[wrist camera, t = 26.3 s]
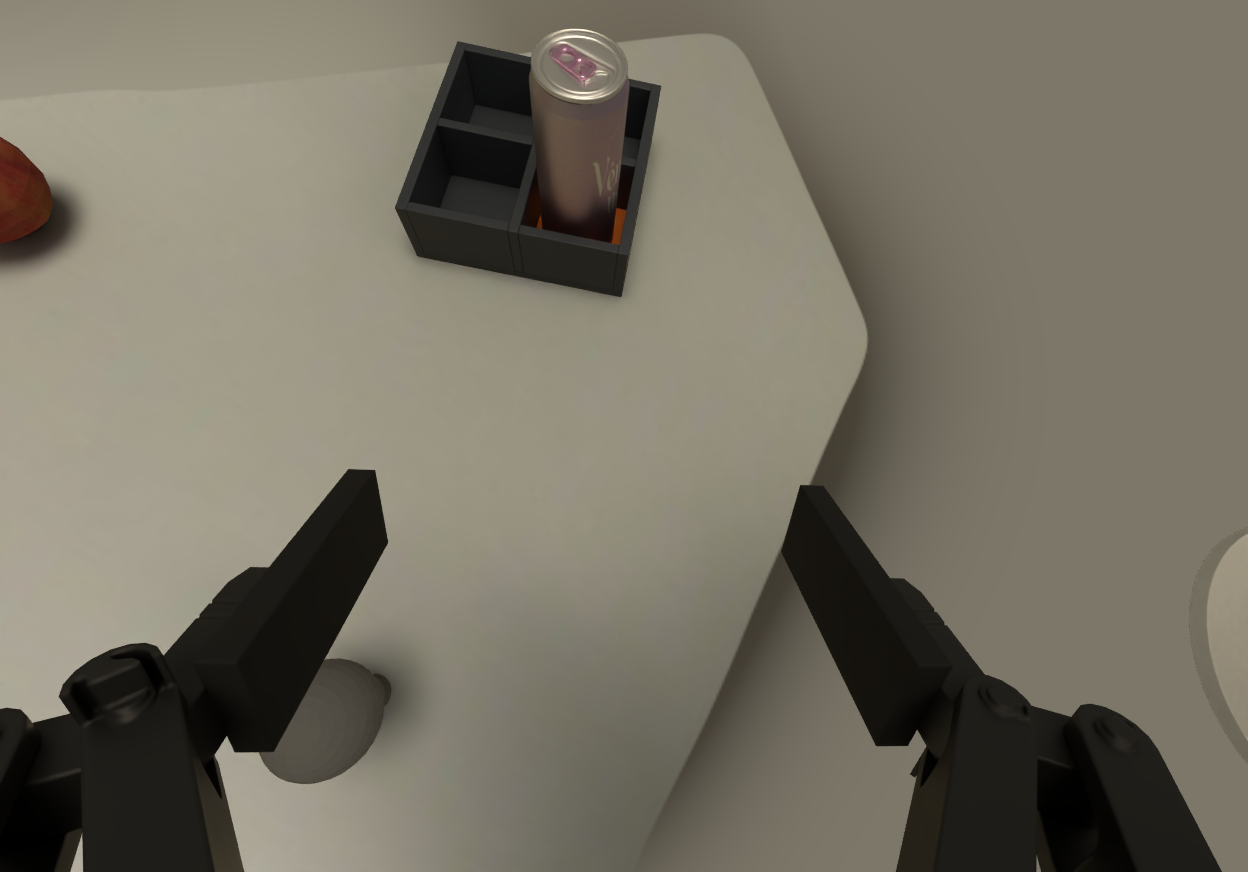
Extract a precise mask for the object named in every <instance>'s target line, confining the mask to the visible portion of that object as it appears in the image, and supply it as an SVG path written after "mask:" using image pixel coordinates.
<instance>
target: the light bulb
mask: <svg viewBox="0 0 1248 872" xmlns="http://www.w3.org/2000/svg"><path fill="white" fill-rule="evenodd" d="M390 695H391V686H390V683H389V681H388V680H387V679H386V678H385V677H384V676H382V675H380V674H372V673H371V671H370V670H368V669H367V668H365V667H364V666H363V665H361V664H358V663H356V662H353V661H350V660H345V659H327V660H324V661H323V663H322V665H321V667H320V669H319V670H318V672H317V674H316V676H315V678H314V680H313V681H312V683H311V685H310V687H309V689H308V691H307V692H306V694H305V696H304V698H303V700H302V702H301V703H300V705H299V707H298V709H297V711H296V713H295V714H294V716H293V718H292V720H291V722H290V724H289V725H288V727H287V729H286V731H285V733H284V735H283V736H282V738H281V740H280V742H279V744H278V746H277V747H276V749H275V751H274V752H259V754H260V756H261V758H262V760H263V762H264V764H265V765H266V767H267V768H268V769H269V770H270V772H272V773H273V774H274V775H276V776H277V777H278V778H280V779H283V780H285V781H288V782H293V783H299V784H312V783H318V782H321V781H325V780H329V779H332V778H334V777H336V776H338V775H340V774H342V773H343V772H345V771H346V770H348V769H349V768H350V767H352V766H353V765H354V764H355V763H357V762H358V761H359V760H360V759H361V758H362V757H363V756H364V755H365V754H366V752H367V751H368V749H369V748H370V746H371V745H372V744H373V742H374V740H375V738H376V735H377V733H378V731H379V729H380V726H381V723H382V720H383V714H384V706H385V705H386V704H387V702H388V701H389V698H390Z"/></svg>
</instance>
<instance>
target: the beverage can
mask: <svg viewBox="0 0 1248 872" xmlns="http://www.w3.org/2000/svg"><path fill="white" fill-rule="evenodd" d="M529 86H530V97H531V108H532V120H533V131H534V142H535V153H536V165H537V176H538V187H539V198H540V209H541V221H542V229H544V230H549V231H554V232H559V233H563V234H568V235H573V236H578V237H583V238H588V239H593V240H598V241H602V242H607V243H612V240H613V234H614V225H615V216H616V206H617V197H618V188H619V179H620V170H621V160H622V151H623V142H624V133H625V123H626V114H627V105H628V96H629V79H628V64H627V60H626V57H625V55H624V53H623V51H622V50H621V48H620V47H619V46H618V45H617V44H616V43H615V42H614V41H612V40H611V39H609V38H608V37H606V36H604V35H602V34H600V33H598V32H595V31H591V30H587V29H579V28H570V29H563V30H558V31H555V32H553V33H550V34H548V35H547V36H545V37H544V38H542V39H541V40H540V41H539V42H538V43H537V45H536V46H535V48H534V50H533V52H532V56H531V70H530V74H529Z"/></svg>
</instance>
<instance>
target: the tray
mask: <svg viewBox="0 0 1248 872" xmlns="http://www.w3.org/2000/svg"><path fill="white" fill-rule="evenodd" d="M530 70H531V57H527V56H523V55H518V54H513V53H509V52H504V51H500V50H495V49H491V48H486V47H481V46H477V45H472V44H467V43H464V42H459V41H458V42H457V44H456V47H455V49H454V52H453V55H452V57H451V60H450V63H449V65H448V68H447V71H446V73H445V76H444V79H443V81H442V84H441V87H440V89H439V92H438V95H437V97H436V100H435V103H434V105H433V108H432V111H431V113H430V116H429V119H428V121H427V124H426V127H425V129H424V132H423V134H422V137H421V140H420V142H419V145H418V148H417V150H416V153H415V156H414V158H413V161H412V164H411V166H410V169H409V172H408V174H407V177H406V180H405V182H404V185H403V188H402V190H401V193H400V196H399V198H398V201H397V204H396V206H395V209H396V211H397V213H398V215H399V218H400V220H401V222H402V224H403V226H404V228H405V230H406V233H407V235H408V237H409V239H410V241H411V243H412V246H413V248H414V250H415V252H416V254H417V256H421V257H426V258H431V259H435V260H440V261H445V262H450V263H455V264H460V265H465V266H470V267H475V268H480V269H485V270H490V271H495V272H500V273H505V274H510V275H515V276H520V277H525V278H530V279H535V280H540V281H545V282H550V283H555V284H560V285H565V286H570V287H575V288H580V289H585V290H590V291H595V292H600V293H605V294H610V295H615V296H620V297H621V296H622V292H623V286H624V281H625V276H626V271H627V266H628V261H629V255H630V250H631V245H632V240H633V235H634V230H635V224H636V219H637V214H638V209H639V204H640V199H641V193H642V188H643V183H644V178H645V173H646V168H647V162H648V157H649V152H650V147H651V142H652V136H653V130H654V125H655V119H656V113H657V107H658V102H659V96H660V90H661V86H660V85H655V84H650V83H646V82H641V81H636V80H632V79H629V96H628V105H627V114H626V123H625V133H624V142H623V151H622V160H621V170H620V179H619V188H618V197H617V206H616V216H615V225H614V234H613V240H612V243H607V242H602V241H598V240H593V239H588V238H583V237H578V236H573V235H568V234H563V233H559V232H554V231H549V230H544V229H542V221H541V209H540V198H539V187H538V176H537V165H536V153H535V142H534V131H533V120H532V108H531V97H530V86H529V74H530Z"/></svg>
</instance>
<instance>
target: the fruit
mask: <svg viewBox="0 0 1248 872" xmlns="http://www.w3.org/2000/svg"><path fill="white" fill-rule="evenodd" d="M52 202H53V199H52V195H51V192H50V188H49V186H48V184H47V181H46V179H45V177H44V175H43V173H42V172H41V171H40V170H39V169H38V168H37V167H36V166H35V165H34V164H33V163H32V162H31V161H30V160H29V159H28V158H27V157H26V155H25V154H24V153H23V152H22V151H21V150H20V149H19V148H17V147H16V146H14V145H13V144H11V143H9V142H8V141H6V140H5V139H3V138H1V137H0V243H4V242H9V241H14V240H17V239H19V238H22V237H24V236H26V235H28V234H30V233H32V232H33V231H35V230H37V229H38V228H40V227H41V226H42V225H43V224H45V223H46V222H47V221H48V218H49V216H50V214H51V212H52Z"/></svg>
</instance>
